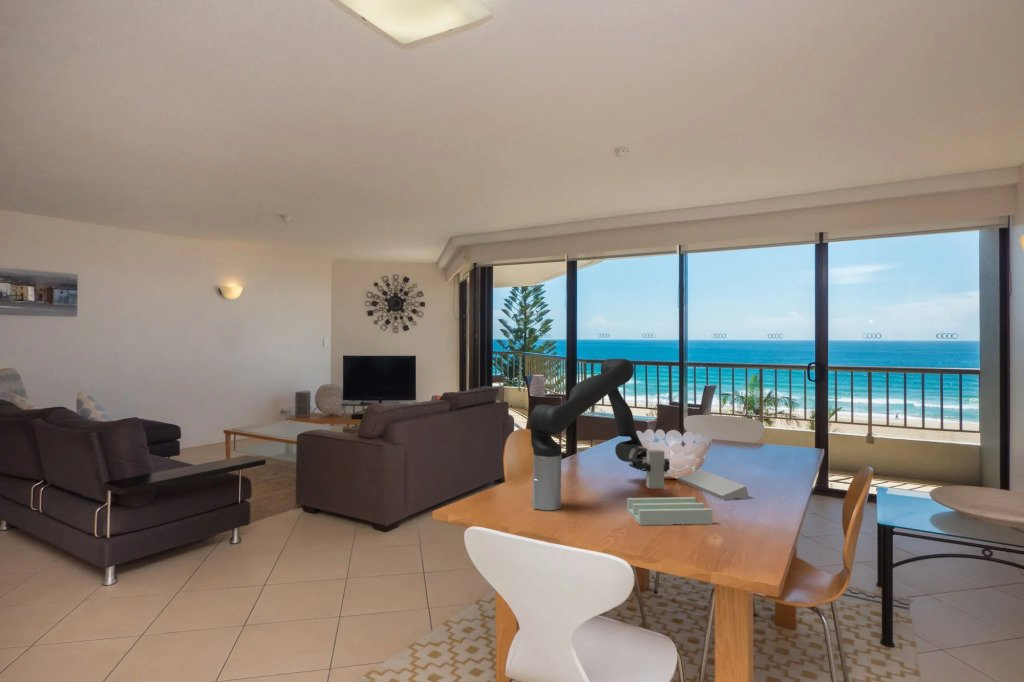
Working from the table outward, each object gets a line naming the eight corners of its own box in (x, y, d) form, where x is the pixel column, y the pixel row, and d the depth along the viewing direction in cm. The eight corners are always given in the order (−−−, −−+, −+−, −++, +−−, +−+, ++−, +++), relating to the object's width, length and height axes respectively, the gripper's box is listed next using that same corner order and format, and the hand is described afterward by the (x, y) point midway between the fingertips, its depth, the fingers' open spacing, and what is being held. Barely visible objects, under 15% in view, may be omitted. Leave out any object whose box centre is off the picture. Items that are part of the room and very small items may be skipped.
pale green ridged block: (640, 525, 164) (640, 511, 164) (627, 511, 177) (627, 497, 177) (712, 524, 165) (712, 510, 165) (693, 510, 179) (694, 497, 179)
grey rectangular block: (649, 488, 181) (649, 451, 181) (646, 485, 184) (646, 449, 184) (663, 488, 182) (664, 451, 182) (660, 485, 185) (661, 449, 185)
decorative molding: (725, 509, 190) (749, 499, 193) (722, 495, 190) (746, 486, 192) (671, 484, 223) (692, 476, 226) (668, 473, 223) (689, 465, 225)
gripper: (622, 447, 197) (636, 457, 180) (662, 447, 198) (679, 457, 181) (622, 468, 197) (636, 480, 180) (661, 468, 198) (679, 480, 181)
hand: (657, 468), depth 180 cm, fingers closed on grey rectangular block, 5 cm apart
